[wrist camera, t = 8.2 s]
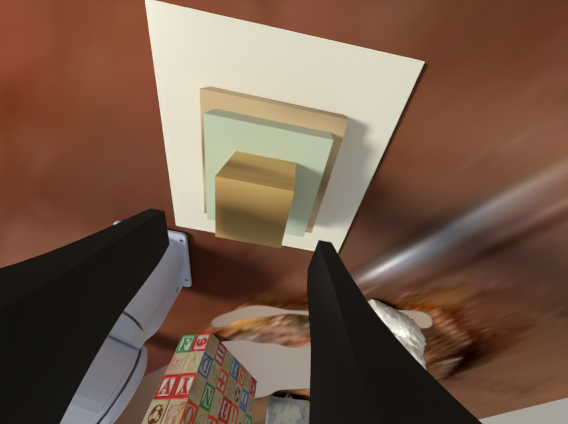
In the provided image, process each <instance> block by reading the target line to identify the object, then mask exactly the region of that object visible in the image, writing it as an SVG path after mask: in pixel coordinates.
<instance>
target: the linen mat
mask: <svg viewBox="0 0 568 424" xmlns="http://www.w3.org/2000/svg"><path fill="white" fill-rule="evenodd" d="M145 4H146V11H147V19H148V26H149V33H150V40H151V48H152V55H153V62H154V69H155V77H156V84H157V91H158V98H159V106H160V113H161V120H162V127H163V135H164V142H165V149H166V156H167V163H168V171H169V178H170V185H171V192H172V200H173V207H174V214H175V221H176V226H181V227H187V228H192V229H197V230H203V231H208V232H214V233H215V221H214V220H209V219H207V213H204V189H203V164H202V138H201V113H200V88H204V87H210V86H211V87H216V88H220V89H225V90H230V91H235V92H239V93H244V94H249V95H253V96H258V97H263V98H268V99H272V100H277V101H282V102H286V103H291V104H296V105H301V106H305V107H310V108H315V109H319V110H324V111H329V112H334V113H338V114H343V115H345V116H346V117H347V118H348V119H349V122H348V125H347V128H346V131H345V134H344V137H343V140H342V143H341V146H340V149H339V152H338V155H337V158H336V161H335V164H334V167H333V170H332V173H331V176H330V179H329V182H328V185H327V188H326V191H325V194H324V197H323V200H322V203H321V206H320V209H319V212H318V215H317V218H316V221H315V224H314V227H313V230H312V233H308V232H305V234H304V237H300V236H294V235H289V234H284V237H283V241H282V245H284V246H289V247H295V248H300V249H306V250H311V251H315V248H316V246H317V243H318V240H322V241H327V242H331V243H332V244H333V246H334V248H335V249H336V251H337V253H338V251H339V249H340V247H341V245H342V243H343V240H344V238H345V236H346V234H347V232H348V229H349V227H350V225H351V223H352V221H353V218H354V216H355V214H356V212H357V210H358V207H359V205H360V203H361V201H362V199H363V196H364V194H365V192H366V190H367V188H368V185H369V183H370V181H371V179H372V177H373V174H374V172H375V170H376V168H377V166H378V163H379V161H380V159H381V157H382V155H383V152H384V150H385V148H386V146H387V144H388V141H389V139H390V137H391V135H392V133H393V130H394V128H395V126H396V124H397V122H398V120H399V117H400V115H401V113H402V111H403V109H404V106H405V104H406V102H407V100H408V98H409V95H410V93H411V91H412V89H413V87H414V84H415V82H416V80H417V78H418V76H419V73H420V71H421V69H422V67H423V65H424V62H425V61H420V60H416V59H411V58H407V57H403V56H398V55H394V54H389V53H385V52H381V51H376V50H372V49H367V48H363V47H358V46H354V45H350V44H345V43H341V42H336V41H332V40H327V39H323V38H319V37H314V36H310V35H305V34H301V33H297V32H292V31H288V30H283V29H279V28H274V27H270V26H266V25H261V24H257V23H252V22H248V21H243V20H239V19H235V18H230V17H226V16H221V15H217V14H213V13H208V12H204V11H199V10H195V9H190V8H186V7H182V6H177V5H173V4H168V3H164V2H159V1H155V0H145Z"/></svg>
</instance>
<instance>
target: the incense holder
mask: <svg viewBox="0 0 568 424" xmlns="http://www.w3.org/2000/svg"><path fill="white" fill-rule="evenodd" d="M309 407H310V402H309V401H306V400H297V399H293V398H292V397H291V395H290V393H287V394H286V396H285V398H281V397H276V396H269V397H268V404H267V415H266V424H309Z"/></svg>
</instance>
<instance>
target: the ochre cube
mask: <svg viewBox="0 0 568 424" xmlns="http://www.w3.org/2000/svg"><path fill="white" fill-rule="evenodd" d="M295 173H296V163H295V162H290V161H285V160H280V159H275V158H270V157H265V156H260V155H255V154H250V153H245V152H240V151H235V153H234V154H233V155H232V156H231V157H230V159H229V160H228V161H227V162H226V163H225V165H224V166H223V167H222V168H221V169H220V171H219V172H218V173H217V174H216V176H215V236H216V237H221V238H227V239H232V240H237V241H243V242H248V243H254V244H259V245H265V246H270V247H276V248H281V246H282V241H283V237H284V233H285V229H286V224H287V220H288V216H289V212H290V207H291V203H292V199H293V195H294V187H295Z"/></svg>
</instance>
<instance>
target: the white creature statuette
mask: <svg viewBox="0 0 568 424" xmlns="http://www.w3.org/2000/svg"><path fill="white" fill-rule="evenodd" d="M368 303H369V304H370V305H371V307H372V308H373V309H374V311H375V312H376V313H377V315H378V316H379V317H380V318H381V320H382V321H383V322H384V323H385V325H386V326H387V327H388V328H389V330H390V331H391V332H392V333H393V334H394V335H395V337H396V338H397V339H398V340H399V341H400V342H401V343H402V345H403V346H404V347H405V348H406V349H407V350H408V351H409V352H410V353H411V355H412V356H413V357H414V358H415V359H416V360H417V361H418V362H419V363H420V364H421V365H422V366H423V367H424V368H425V369H426V367H425V364H426V362H425V360H424V358H423V353H424V352H423V351H424V346H425V345H426V343H425V337H424V335H423V334H422V332H421V331H420V327H419V326H417V324H416V323H415V322H414V320H413V319H410V318H409V317H408V316H407V315H404V313H402V312H399V311H398V310H395V309H393V308H392V307H390V306H387V305H385V304H383V303H382V302H380V301H378V300H376V299H375V300H373V299H371V300H370V301H368Z"/></svg>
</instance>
